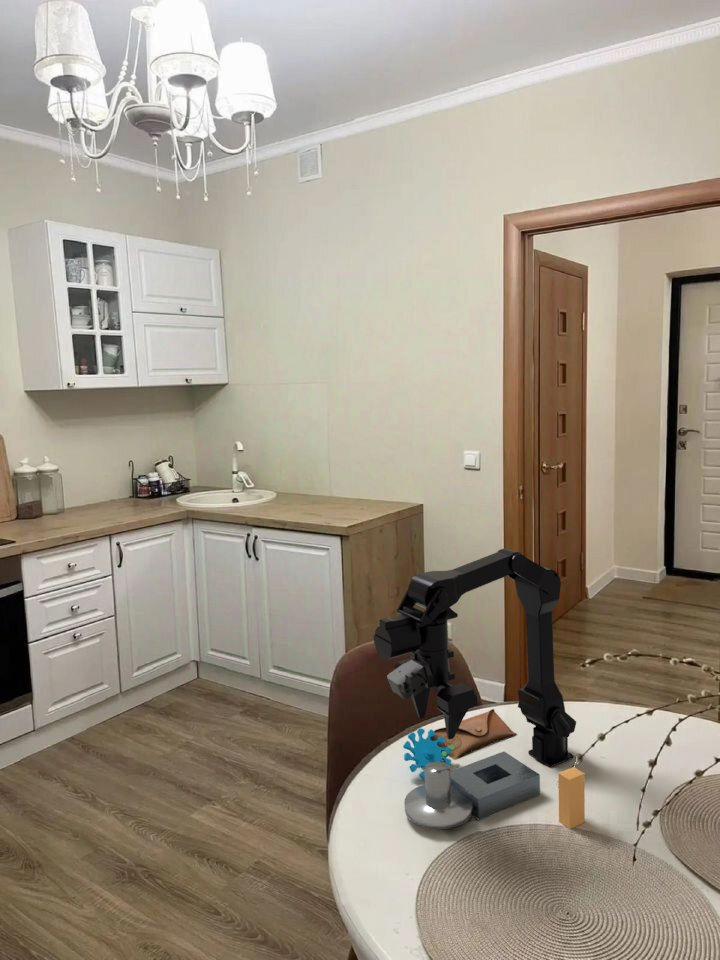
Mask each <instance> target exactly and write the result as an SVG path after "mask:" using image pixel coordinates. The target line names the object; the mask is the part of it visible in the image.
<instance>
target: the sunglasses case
mask: <svg viewBox="0 0 720 960" xmlns="http://www.w3.org/2000/svg"><path fill="white" fill-rule="evenodd" d="M433 731H434V732H435V735H434V736H433V737H430V739H431V740H432V741H436V740H437V739H438V738H439V737H440V736H442V737H443V738H444V740H445V742H444V743H443V744H439V743H437V745H438V746H439V747H441V748H446V747H448V746H450V745H453V746H454V749H453V750H452V751H451V752H450V754H449V755H448V757H449V758H451V759H453V760H454V761H455V760H458V759H460V758H463V756H466V755H468V754H470V753H472V752H474V751H477V750H480V749H481V748H484V747H486V746H489V745H492V744H494V743H496V742H497V743H498V742H500V741H503V740H505V739H508V738H512V737H514V736H517V735H518V734H517V732H514V731H513V730H512V729H511V728H510V727H509V726H508V725H507V724H506V722H505V721H504V720H503V719H502V718H501V717H500V716H499V714H498V713H497V712H496V711H495V709H494V708H492V709H490V710H488V711H487V712H483V713H481V714H478V715H477V714H476V715H474V716H472V717H468V718H466V719H463V720H462V722H461V724H460V726H459V728H458V730H457V732H456V735H455V737H454V738H453V739H450V740H449V739H448V737H447V733H446V726H445V727H440V728H437V729H435V730H433Z"/></svg>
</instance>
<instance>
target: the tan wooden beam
mask: <svg viewBox="0 0 720 960" xmlns="http://www.w3.org/2000/svg"><path fill="white" fill-rule="evenodd" d="M585 782H586V781H585V772H583V771H581V770H579V769H578V768H576V767H574V766H573V767H570V768H568V769H566V770H563V771H560V772H559V773H558V822H559V823H561V824H562V825H563V826H564V827H566V828H567V829H569V830H570V829H572V828H575V827H577V826H579V825H581V824H583V823H585V822H586V821H585V820H586V819H585V816H586V813H585V812H586V810H585V803H586V802H585V801H586V799H585V795H586V794H585V786H586V785H585Z"/></svg>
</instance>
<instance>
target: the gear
mask: <svg viewBox="0 0 720 960" xmlns="http://www.w3.org/2000/svg"><path fill="white" fill-rule="evenodd" d="M434 731H435V730H433V729H429V730H428V731H427V737H426V738H425V737H423V735H424V734H425V732H426V731H425V729H424V728H421V727H420V728H418V729H417V731H416V733H417V735H418V740H416V733H415V732H410V733H409V734H408V735H407V738H408V739H409V740H410V741H409V740H407V741H406V742H404V744H403V745H402V747H403V749H405V750H408V751H409V752H411V753H412V755H411V754H410V753H409V752H406V753H404V756H403V760H404V761H406V762H408V761H414V763H411V765H409V769H410V771H411V773H414V772H415V773H416V771H417V769H420V768H423V769H424V768H425V766H426V765H427V764H428V763H431V762H443V763H445V764H447V765H448V766H449V767H450V765H451V763H452V759H450V758H448V757H449V756H448V755H449V754H450V752H451V751H452V750H453V749H454V746H453V745H450V746H448V747H446V748H441V747H439V746H438V745H437V743H439V744H443V743H444V742H445V740H444V738H443V737H442V736H440V737H439V738H438V739H437V740H436V741H432V740H431V739H430V737H433V736H434V735H435V732H434ZM411 742H412V743H411ZM411 744H413V747H412V745H411ZM418 777H419V778H421V779H422V780H424V781H425V770H424V771H421V772H420V773H419V774H418Z"/></svg>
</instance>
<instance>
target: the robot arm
mask: <svg viewBox="0 0 720 960" xmlns="http://www.w3.org/2000/svg"><path fill="white" fill-rule="evenodd" d="M505 577H508V578H510V579H511V580H512V581H514V584H515V588H516V596H517V598H518V599H519V601H520V603H521V605H522V607H523V608H524V611H525V622H526V623H525V624H526V648H527V649H526V650H527V675H528V676H527V677H528V679H527V682H526V683H525V685H524V687H522V688H518V691H517V694H518V704H517V708H519V709H520V711H521V714H522V715H523V716H524V717H525V719H526V722H527V723H529V724H531V725H534V727H533V728H532V732H533V735H532V737H531V742H532V743H531V746H532V747H531V748H532V749H529V750H528V754H529V755H530V756H532V757H533V758H535V759H536V760H538V761H540V762H541V763H543V764H544V765H546V766H548V767H549V768H550V767H554V766H557V765H560V764H561V763H564V762H566V761H569V760H572V759H573V758H574V754H573V753H571V752H569V747H568V746H569V745H568V743H569V741H568V740H569V739H568V738H569V737H570V735H571V734H573V733H575V730H576V725H577V721H576V720H575V719H574V718H573V717H572V716H571V715H569V714H568V713H567V712H566V707H565V701H564V696H563V693H562V692H561V690H560V688H559V686H558V685H557V683H556V680H555V661H554V655H555V654H554V630H553V610H554V608H555V607H556V605H558V602H559V600H560V597H561V596H560V594H561V586H562V585H561V584H562V580H561V576H560V574H559V573H558V572H557V571H556V570H554V569H552V568H548V567H544V566H542V565H540V564H538V563H536V562H535V561H533V560H531V559H529V558H528V557H527V556H525V555H524V554H523V553H521V552H519V551H515V550H513V549H510V548H509V549H508V548H506V547H505V548H501V549H498V550H497V551H496V552H494V553H492V554H489V555H486V556H484V557H481V558H479V559H477V560H473V561H471V562H467V563H465V564H463V565H459V566H458V567H455V568H453V569H447V570H432V571H426V572H421V573H417V574H415V575H414V576H413V577H411V579H410V580H411V581H410V582H409V583H408V588H407V590H406V591H405V594H404V596H403V597H402V600H401V601H400V604H399V605H398V607H397V609H396V613H397V614H399V615H397V616H392V617H384V618H382V619H380V620H379V621H378V622H379V626H377V628H376V629H375V631H374V635H373V643H374V647H375V649H376V652H377V655H379V657H380V658H381V659H382V660H384V661H388V660H393V659H396V658H399V657H401V656H406V655H409V654H410V655H409V656H410V658H407V659H404V660H400V661H397V662H396V663H395V665H394V666H393V670H392V671H391V672H389V673H388V674H387V676H386V678H387V680H388V683H389V685H390V688H391V690H392V692H393V693H394V694H396V695H398V696H399V697H400V698H401V699H403V700H407V699H409V698H411V700H412V703H413V706H414V709H415V711H416V715H417V717H418V718H419V719H420V720H421V719H424V718H425V717H426V714H427V709H428V705H429V698H430V691H431V689H433V690H435V691H436V692H437V694H436V703H437V704H438V706H437V707H436V709H438V710H439V712H441V713H442V714H443V718H444V725H445V727H446V733H447V737H448V739H449V740H450V739H453V738H454V737H455V735H456V732H457V730H458V728H459V726H460V724H461V722H462V721H463V720H464V717H466V714H467V713H468V710H469V709H473V708H474V707H477V706H478V705H479V692H477V691H476V690H475V689H474V688H472V687H470V686H468V685H467V684H465V683H463V682H460V683H455V684H453V685H452V684H450V683H449V681H452V680H455V672H453V671H452V670H450V658H455V656H454V655H455V654H454V653H455V652H454V650H452V649H450V648H449V647H450V646H449V629H448V625H449V623H448V621H449V620H452V619H456V618H458V616H459V614H458V613H457V612H455V611H454V610H453V609H452V608H451V607H453V606H454V605H455V604H457V603H458V601H459V600H460V599H461V597H462V596H464V595H465V594H466V593H468V592H471V591H474V590H476V589H478V588H480V587H483V586H486V585H488V584H491V583H493V582H495V581H498V580H500V579H503V578H505ZM415 606H419V607H421V608H423V609H424V611H422V610H420V609H418V608H416V607H415Z"/></svg>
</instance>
